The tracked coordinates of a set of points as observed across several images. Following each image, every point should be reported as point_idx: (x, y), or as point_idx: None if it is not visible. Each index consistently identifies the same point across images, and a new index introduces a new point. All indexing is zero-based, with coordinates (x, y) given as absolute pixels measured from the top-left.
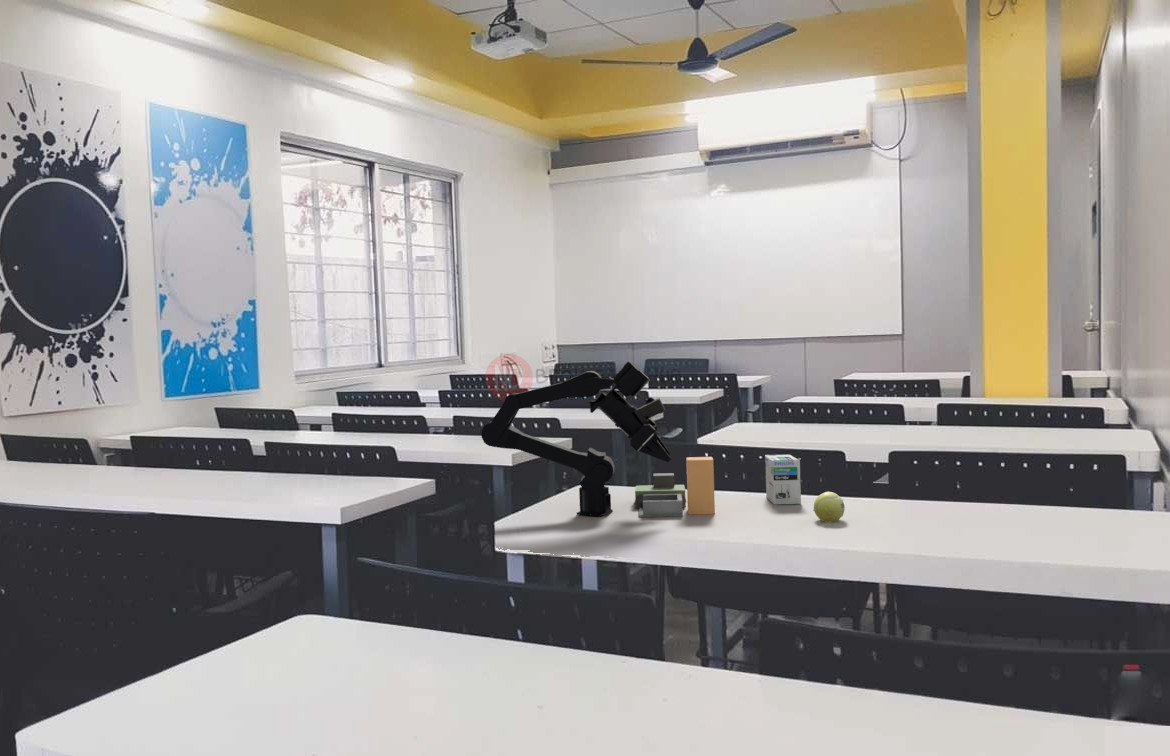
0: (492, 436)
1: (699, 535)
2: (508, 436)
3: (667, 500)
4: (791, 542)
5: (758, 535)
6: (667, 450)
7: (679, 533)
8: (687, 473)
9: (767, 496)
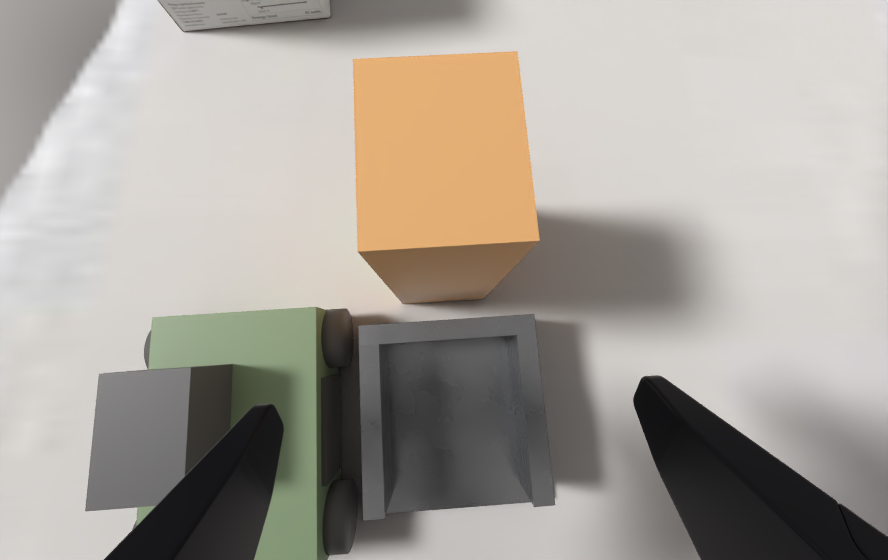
0: None
1: (822, 254)
2: None
3: (525, 382)
4: (860, 15)
5: (791, 88)
6: (254, 439)
7: (805, 320)
8: (515, 264)
9: (205, 23)
